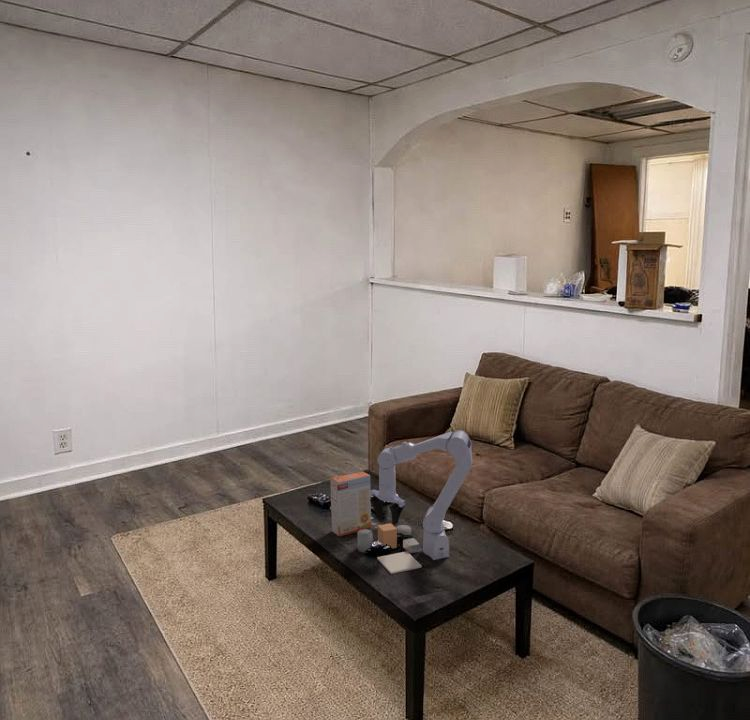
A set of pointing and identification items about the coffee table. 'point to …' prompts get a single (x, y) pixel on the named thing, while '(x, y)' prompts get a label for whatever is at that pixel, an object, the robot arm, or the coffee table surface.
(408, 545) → the metal tin
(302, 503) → the coffee table surface
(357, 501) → the cracker box
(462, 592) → the coffee table surface
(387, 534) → the terracotta block
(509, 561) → the coffee table surface
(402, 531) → the matte grey ellipsoid
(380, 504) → the robot arm
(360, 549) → the grey rounded capsule
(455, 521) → the coffee table surface
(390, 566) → the ceramic tile
